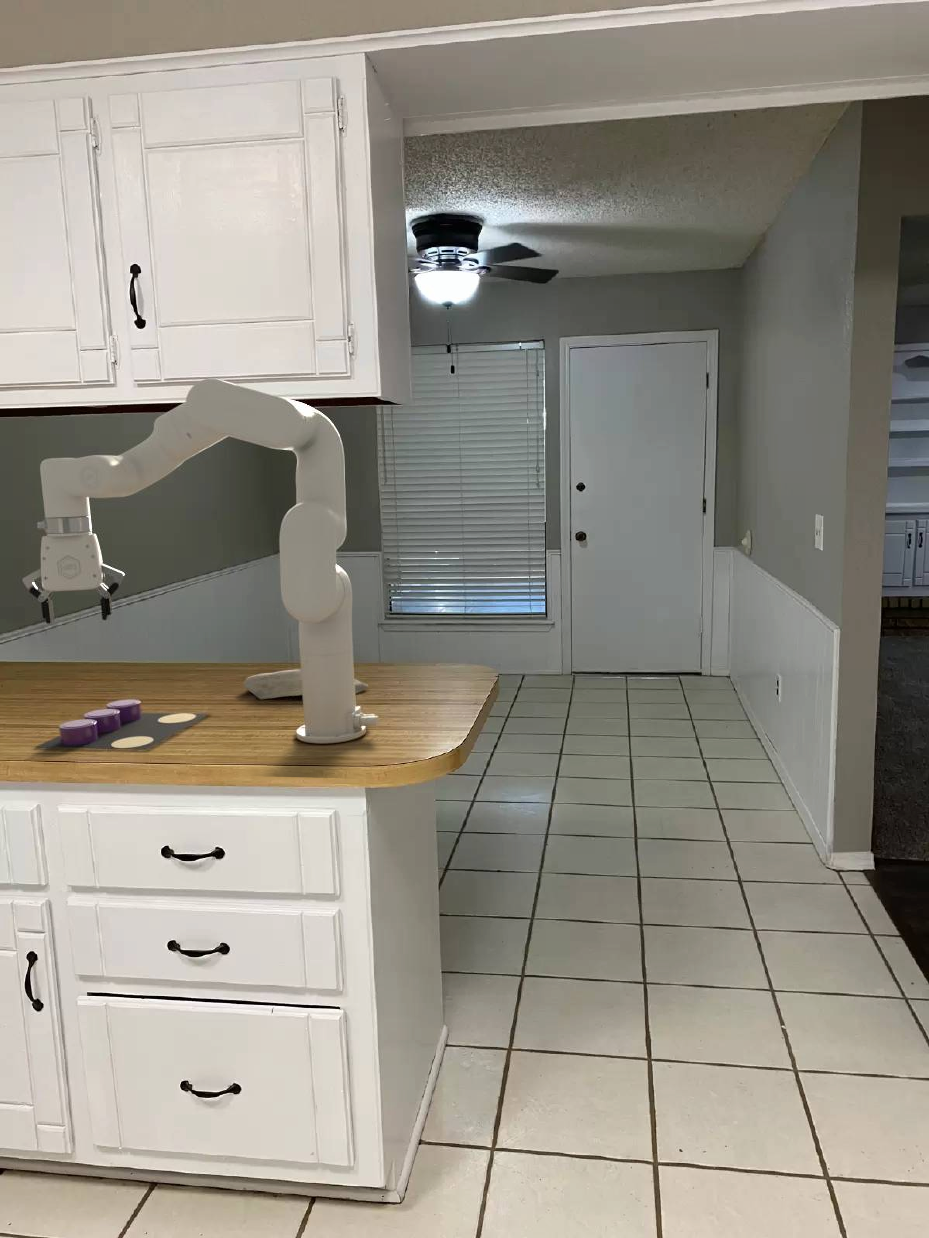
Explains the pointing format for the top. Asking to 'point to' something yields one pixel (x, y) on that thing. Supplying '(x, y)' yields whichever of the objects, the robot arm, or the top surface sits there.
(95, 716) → the dish
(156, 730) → the mat
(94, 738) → the purple short cylinder
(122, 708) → the dish
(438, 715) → the top surface
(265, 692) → the stone
